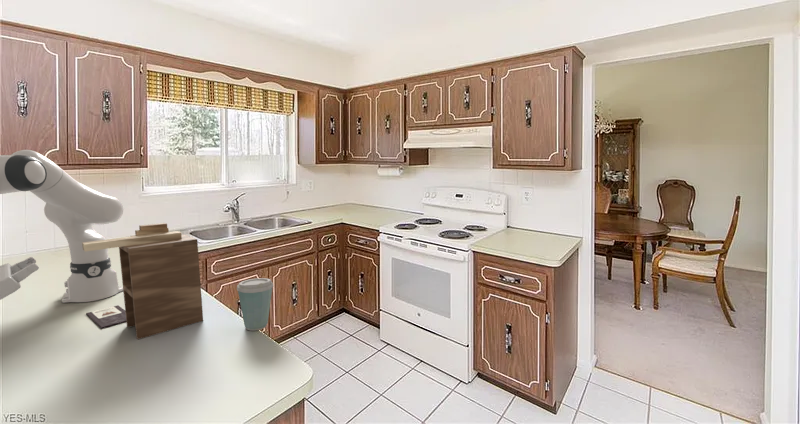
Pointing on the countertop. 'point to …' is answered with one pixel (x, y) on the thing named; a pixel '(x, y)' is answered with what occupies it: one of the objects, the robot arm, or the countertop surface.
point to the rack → (161, 283)
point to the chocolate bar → (108, 316)
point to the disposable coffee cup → (255, 302)
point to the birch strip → (130, 241)
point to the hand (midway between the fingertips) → (35, 262)
